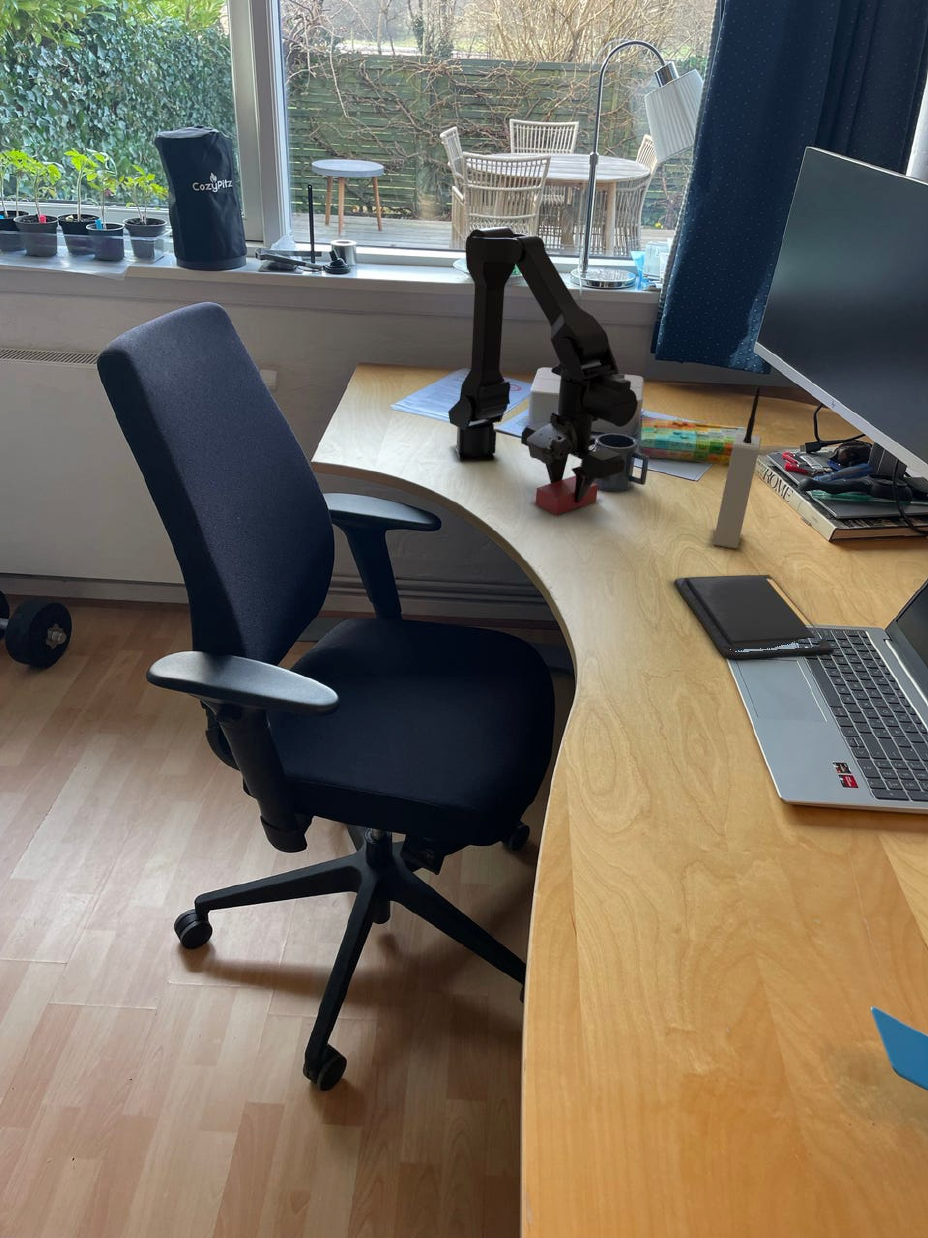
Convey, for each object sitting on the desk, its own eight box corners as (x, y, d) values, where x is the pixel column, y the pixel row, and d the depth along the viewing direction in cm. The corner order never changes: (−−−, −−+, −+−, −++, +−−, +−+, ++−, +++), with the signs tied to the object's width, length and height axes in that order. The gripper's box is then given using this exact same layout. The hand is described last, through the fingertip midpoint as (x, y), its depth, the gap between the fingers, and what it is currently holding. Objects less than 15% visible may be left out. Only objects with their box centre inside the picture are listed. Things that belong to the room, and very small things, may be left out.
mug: (583, 484, 162) (588, 441, 158) (603, 472, 167) (608, 430, 162) (634, 500, 157) (640, 456, 153) (652, 486, 162) (659, 444, 158)
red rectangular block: (556, 515, 151) (557, 498, 149) (535, 504, 154) (536, 487, 153) (596, 500, 156) (598, 484, 155) (575, 490, 159) (577, 474, 158)
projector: (637, 438, 181) (642, 400, 177) (526, 428, 184) (529, 389, 180) (638, 410, 195) (644, 374, 191) (536, 401, 198) (538, 365, 194)
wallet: (674, 570, 133) (775, 567, 134) (672, 581, 134) (772, 578, 135) (723, 648, 116) (837, 643, 118) (720, 660, 117) (834, 656, 119)
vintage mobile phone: (739, 536, 147) (773, 382, 133) (737, 549, 143) (771, 392, 129) (716, 532, 148) (747, 378, 134) (712, 545, 144) (744, 389, 130)
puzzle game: (642, 413, 180) (747, 423, 178) (639, 436, 183) (742, 446, 180) (642, 434, 170) (752, 445, 168) (638, 458, 173) (747, 469, 170)
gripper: (499, 399, 148) (494, 489, 156) (582, 435, 136) (571, 530, 144) (549, 387, 154) (541, 474, 162) (632, 420, 142) (620, 512, 150)
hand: (566, 496), depth 155 cm, fingers closed on red rectangular block, 5 cm apart
